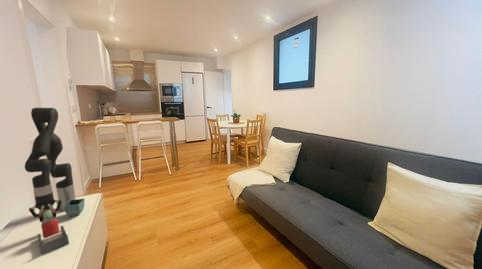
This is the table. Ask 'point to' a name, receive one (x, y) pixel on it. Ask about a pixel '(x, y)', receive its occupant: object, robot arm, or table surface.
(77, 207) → the flower pot
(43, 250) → the lane
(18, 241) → the table surface
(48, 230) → the beer can
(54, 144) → the robot arm
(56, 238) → the pusher
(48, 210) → the jar
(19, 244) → the table surface
